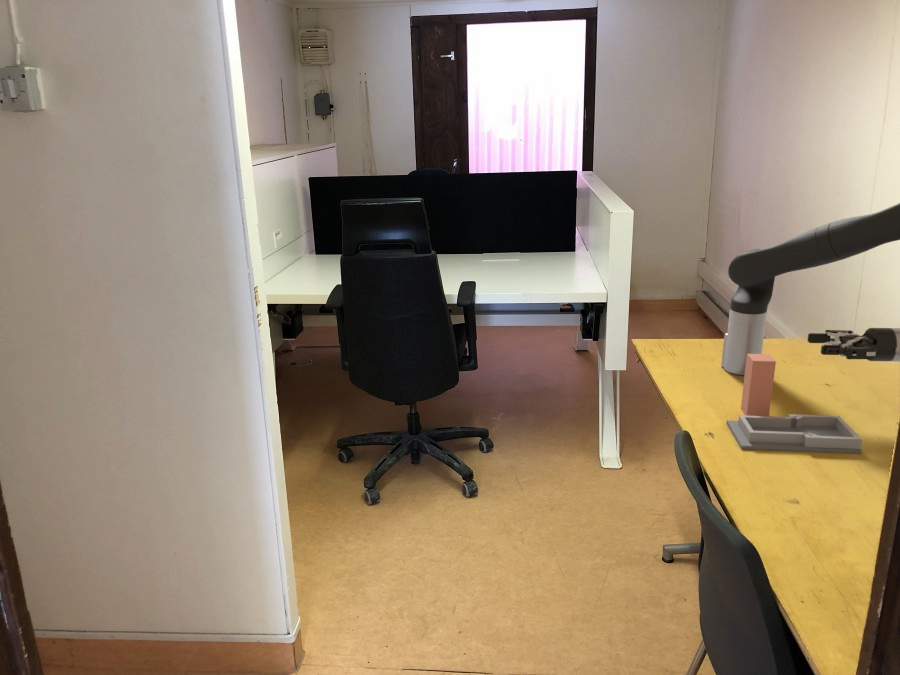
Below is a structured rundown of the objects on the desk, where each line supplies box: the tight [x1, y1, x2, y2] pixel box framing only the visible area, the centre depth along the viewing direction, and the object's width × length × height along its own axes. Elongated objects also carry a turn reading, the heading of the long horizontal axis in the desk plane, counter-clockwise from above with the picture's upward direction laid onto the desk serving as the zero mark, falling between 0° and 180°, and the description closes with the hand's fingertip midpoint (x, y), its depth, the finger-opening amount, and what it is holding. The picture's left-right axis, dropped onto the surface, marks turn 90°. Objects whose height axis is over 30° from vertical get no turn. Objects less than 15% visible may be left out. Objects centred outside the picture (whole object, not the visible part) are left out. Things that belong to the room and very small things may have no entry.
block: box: [740, 353, 777, 416], centre depth 170 cm, size 5×5×14 cm
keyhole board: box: [726, 413, 862, 454], centre depth 159 cm, size 24×13×3 cm, turn 83°
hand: (814, 343), depth 165 cm, fingers open, 8 cm apart
